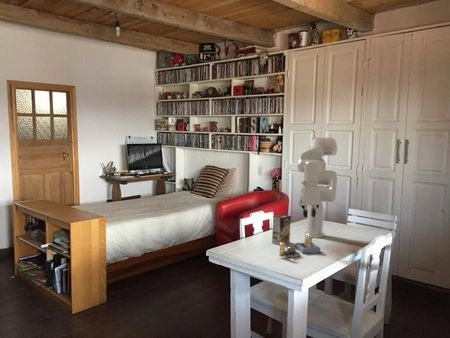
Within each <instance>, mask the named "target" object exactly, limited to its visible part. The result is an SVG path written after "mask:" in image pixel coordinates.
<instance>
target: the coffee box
mask: <svg viewBox="0 0 450 338" xmlns="http://www.w3.org/2000/svg"><path fill="white" fill-rule="evenodd" d="M291 217H292V216H291V215H289V214H278V215H273V216H272V237H271V244H273V245H278V246H280V242H284V243H285V245H286V244H290V241H291V239H290V238H291Z"/></svg>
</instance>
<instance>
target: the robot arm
mask: <svg viewBox="0 0 450 338" xmlns="http://www.w3.org/2000/svg"><path fill="white" fill-rule="evenodd" d="M337 152H338V144H337V141H336V139H335V138H333V137H324V136H322V137H320V136H318V137H314V138H313V139H312V140H311V143H309V146H308V149H307V150H305V151H304V152H302V153H301V154H300V156H299V158H298V161H297V166H296V167H297V170H298V172H300V173H302V174H303V181H301V182H300V183H301V185H302V187H301V191H300V197H299V201H298V202H297V206H299V207H301V208H302V213H303V214H302V215H303V217H304V218H307V226H306V231H304V235H305V236H311V237H312V238H314V239H315V238H316V239H317V238H324V237H325V236H326V235H325V232H323V230H324V228H323V225H324V206H323V203H322V202H324V203H334V202H335V201H336V198H337V189H338V188H337V185H338V174H337V172H336V171H335V170H331V169H329V170H327V169H326V168H327V163H326V161H325V159H324V158H323V157H324V156H325V157H328V156H329V157H334V156H336V155H337Z"/></svg>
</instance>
